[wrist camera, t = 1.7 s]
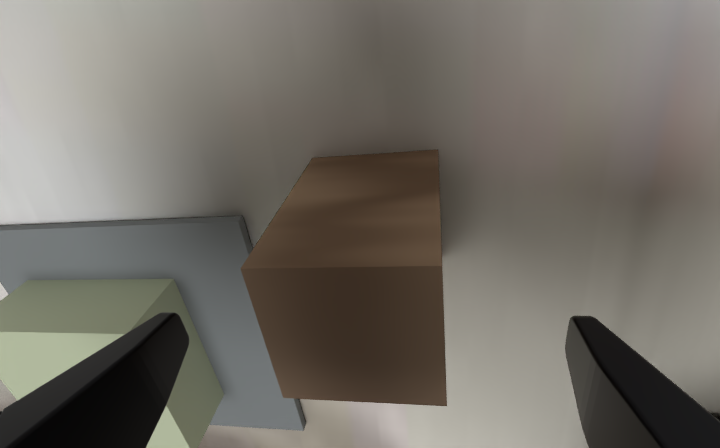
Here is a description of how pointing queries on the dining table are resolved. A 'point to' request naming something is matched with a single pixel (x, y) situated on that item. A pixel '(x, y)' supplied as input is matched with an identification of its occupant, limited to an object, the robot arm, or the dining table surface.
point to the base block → (103, 343)
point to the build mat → (194, 281)
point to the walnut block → (355, 282)
